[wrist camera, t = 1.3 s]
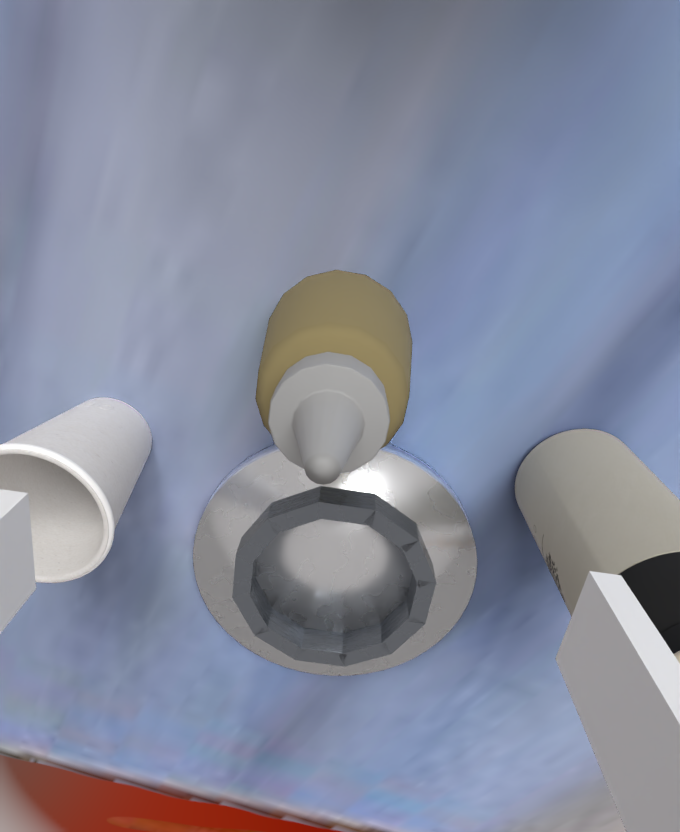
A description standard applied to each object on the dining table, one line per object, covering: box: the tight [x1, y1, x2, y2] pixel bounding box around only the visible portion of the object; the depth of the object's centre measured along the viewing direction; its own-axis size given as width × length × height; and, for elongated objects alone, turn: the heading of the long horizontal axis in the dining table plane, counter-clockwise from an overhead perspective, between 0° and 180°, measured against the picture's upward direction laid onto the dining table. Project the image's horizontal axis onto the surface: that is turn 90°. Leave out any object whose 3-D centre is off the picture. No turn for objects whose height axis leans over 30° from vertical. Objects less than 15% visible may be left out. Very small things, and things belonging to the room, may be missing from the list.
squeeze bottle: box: [256, 270, 412, 485], centre depth 26 cm, size 8×8×18 cm
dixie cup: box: [0, 397, 152, 583], centre depth 33 cm, size 8×8×10 cm
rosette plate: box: [193, 444, 477, 676], centre depth 40 cm, size 20×20×4 cm
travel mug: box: [515, 429, 680, 663], centre depth 30 cm, size 8×8×18 cm
